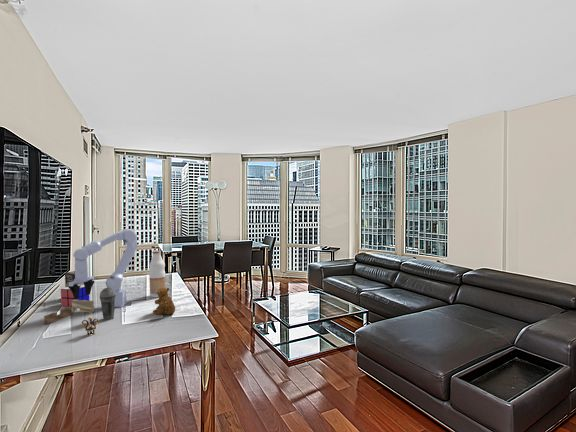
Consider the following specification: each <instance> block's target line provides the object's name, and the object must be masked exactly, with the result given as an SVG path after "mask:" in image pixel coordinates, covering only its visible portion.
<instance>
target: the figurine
mask: <svg viewBox="0 0 576 432" xmlns="http://www.w3.org/2000/svg"><path fill="white" fill-rule="evenodd" d="M87 319H88V320H86V319H83V320H82V321H81V325H82V327H84V331H85V332H86V335H87V334H90V335H91V334H93V335H95V334H94V333H95V330H97V329H98V328H97V326H96V325H98V324H99V321H100V320H99V318H94V319H93V317H92V316H89V317H88V318H87ZM85 322H86V323H85ZM93 326H94V327H93ZM92 332H93V333H92Z"/></svg>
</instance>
